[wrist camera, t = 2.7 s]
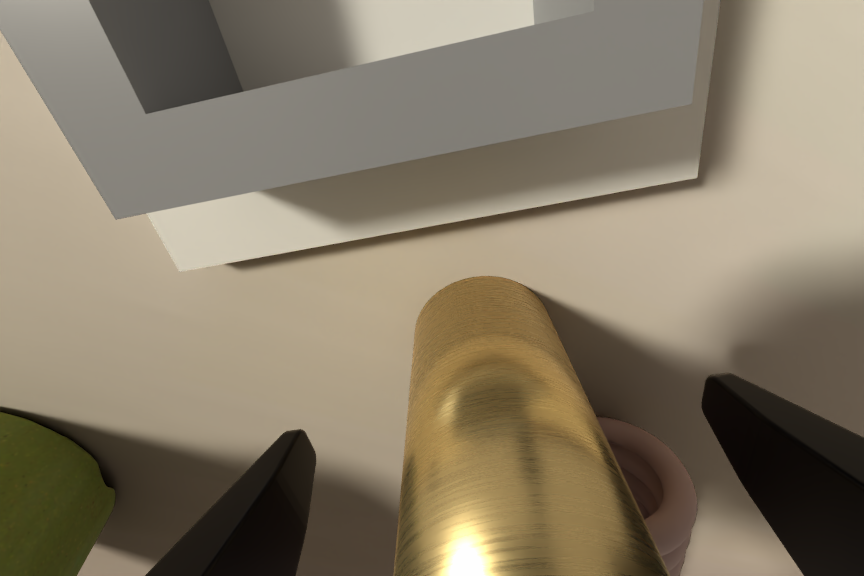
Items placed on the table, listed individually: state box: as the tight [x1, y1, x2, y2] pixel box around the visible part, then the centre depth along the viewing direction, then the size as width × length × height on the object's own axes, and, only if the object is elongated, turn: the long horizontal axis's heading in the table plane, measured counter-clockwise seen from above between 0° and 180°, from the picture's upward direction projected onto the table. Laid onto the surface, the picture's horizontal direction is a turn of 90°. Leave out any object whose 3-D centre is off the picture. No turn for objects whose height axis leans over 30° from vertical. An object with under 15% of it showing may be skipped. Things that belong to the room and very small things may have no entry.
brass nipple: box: [393, 276, 670, 576], centre depth 8 cm, size 4×4×8 cm
